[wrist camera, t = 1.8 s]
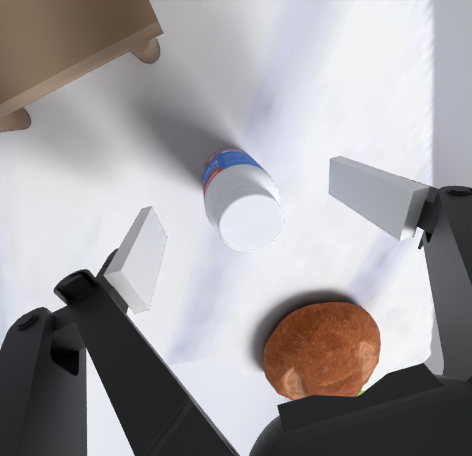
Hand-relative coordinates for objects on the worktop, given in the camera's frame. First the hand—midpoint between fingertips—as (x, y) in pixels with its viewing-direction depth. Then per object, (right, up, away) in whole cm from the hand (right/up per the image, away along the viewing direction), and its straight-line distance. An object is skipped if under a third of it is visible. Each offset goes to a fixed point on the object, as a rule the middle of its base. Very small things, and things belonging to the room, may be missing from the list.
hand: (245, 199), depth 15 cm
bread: (+15, -26, +26) cm, 40 cm away
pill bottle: (-1, +3, +5) cm, 6 cm away
